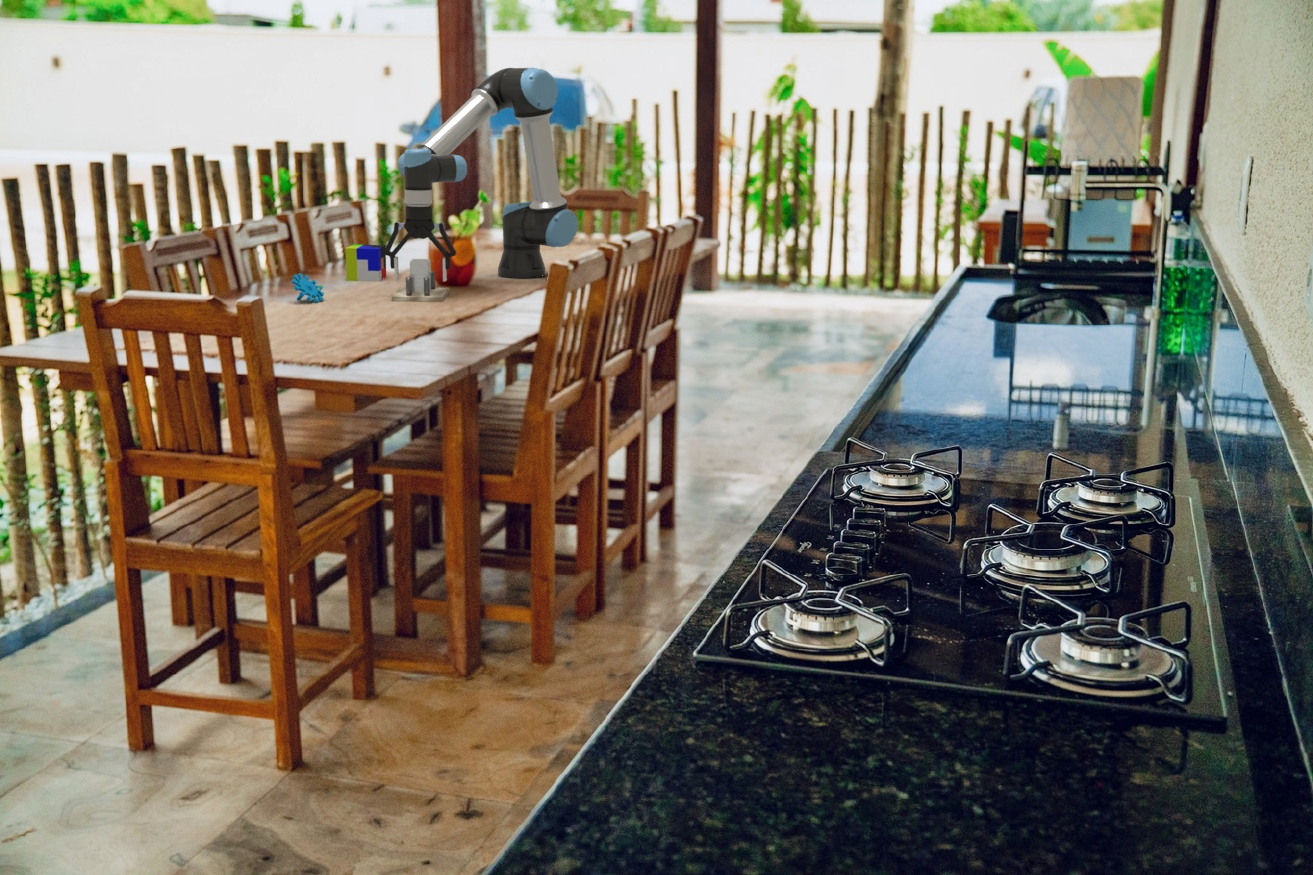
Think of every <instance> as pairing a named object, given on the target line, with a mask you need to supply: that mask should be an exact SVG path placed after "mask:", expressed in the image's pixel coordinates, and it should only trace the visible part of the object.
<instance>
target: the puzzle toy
mask: <svg viewBox="0 0 1313 875" xmlns="http://www.w3.org/2000/svg"><path fill="white" fill-rule="evenodd" d="M386 246H387V245H384V244H383V245H382V244H355V243H354V244H351V245H350V246H347V247H346V248H344V249H345V269H346V270H345V272H346V275H345V276H346V282H372V281H378V282H379V281H380V282H381V281H383V280H384V279H386V278H387V257H386V256H387V255H384V253H383V252H384V250H385V248H386ZM383 278H384V279H383ZM382 279H383V280H382Z"/></svg>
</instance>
